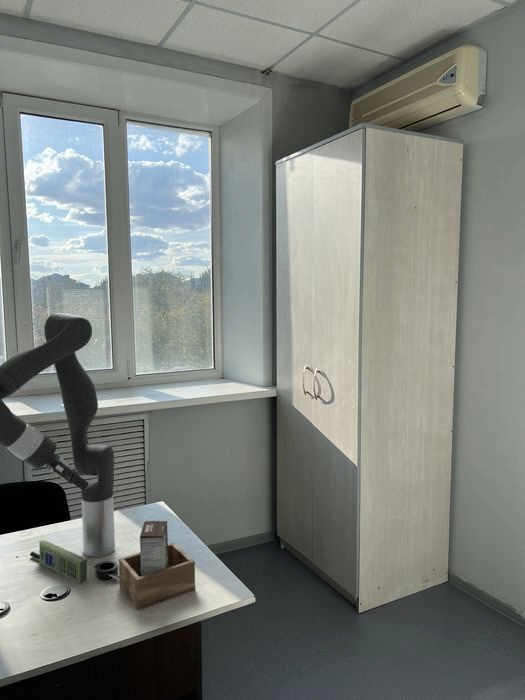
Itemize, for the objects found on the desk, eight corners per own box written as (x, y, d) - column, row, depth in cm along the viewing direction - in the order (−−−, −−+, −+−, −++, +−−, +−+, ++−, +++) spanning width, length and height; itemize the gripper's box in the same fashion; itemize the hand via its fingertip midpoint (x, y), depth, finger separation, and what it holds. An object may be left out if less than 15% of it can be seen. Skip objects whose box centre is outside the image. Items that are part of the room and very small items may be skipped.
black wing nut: (92, 587, 142) (91, 577, 141) (93, 569, 151) (93, 559, 151) (121, 583, 144) (121, 573, 144) (121, 565, 153) (120, 555, 153)
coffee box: (145, 576, 145) (144, 520, 143) (169, 575, 145) (168, 519, 144) (140, 595, 136) (138, 535, 134) (165, 594, 136) (164, 534, 135)
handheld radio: (79, 586, 143) (26, 560, 157) (89, 581, 145) (36, 556, 159) (79, 562, 142) (26, 538, 156) (89, 557, 145) (36, 534, 159)
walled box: (119, 586, 142) (118, 558, 141) (174, 569, 151) (173, 542, 150) (138, 610, 131) (137, 580, 130) (195, 589, 140) (194, 561, 139)
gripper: (49, 439, 122) (100, 477, 130) (35, 427, 134) (83, 462, 142) (26, 466, 120) (79, 503, 128) (14, 451, 132) (63, 485, 139)
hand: (81, 481), depth 135 cm, fingers open, 8 cm apart
